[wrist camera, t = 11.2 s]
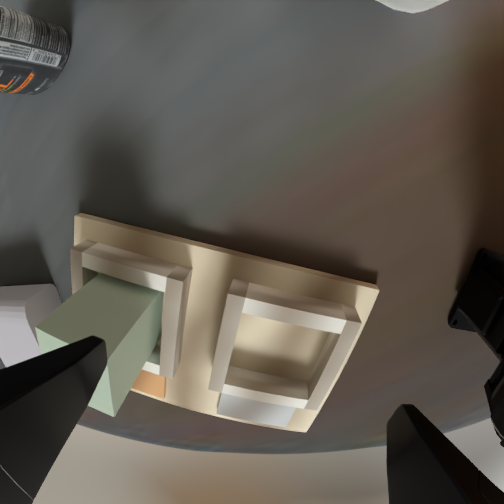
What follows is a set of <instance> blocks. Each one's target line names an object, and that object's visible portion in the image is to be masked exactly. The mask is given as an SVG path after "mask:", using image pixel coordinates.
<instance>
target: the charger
mask: <svg viewBox="0 0 504 504" xmlns="http://www.w3.org/2000/svg"><path fill="white" fill-rule="evenodd" d="M61 304H62V302H61V299H60V297H59V294H58V291H57V289H56V287H55V286H54V285H53V284H37V285H20V286H2V287H0V357H1V359H2V361H3V363H4V365H5V366H6V367H9V366H11V365H14V364H17V363H20V362H22V361H25V360H28V359H30V358H33V357H36V356H39V355H41V351H40V347H39V343H38V339H37V334H36V330H35V327H36V326H37V325H38V324H39V323H40V322H41V321H42V320H44V319H45V318H46V317H47V316H48V315H49V314H51V313H52V312H53V311H54V310H55V309H56V308H58V307H59V306H60V305H61Z"/></svg>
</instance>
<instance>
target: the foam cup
mask: <svg viewBox="0 0 504 504" xmlns="http://www.w3.org/2000/svg"><path fill="white" fill-rule="evenodd" d="M376 1H378V2H380V3H382V4H384V5H386V6H388V7H390V8H392V9H393V10H398V11H403V12H408V13H417V12H422V11H426V10H428V9H431V8H433V7H436V6H438V5H440V4H442V3H444V2H446V1H449V0H376Z"/></svg>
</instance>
